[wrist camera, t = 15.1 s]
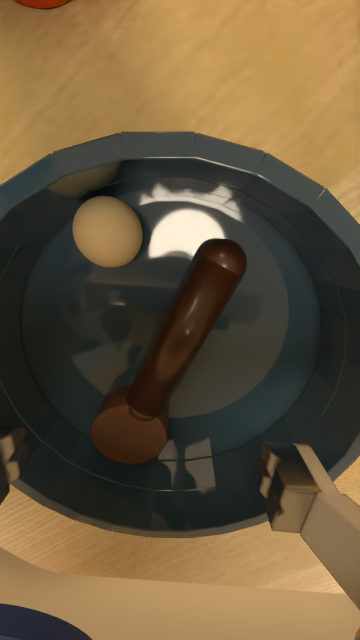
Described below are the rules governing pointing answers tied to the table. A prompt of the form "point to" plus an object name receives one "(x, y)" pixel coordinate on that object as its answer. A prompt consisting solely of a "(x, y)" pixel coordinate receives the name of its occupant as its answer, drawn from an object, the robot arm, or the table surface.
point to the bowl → (149, 315)
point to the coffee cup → (42, 3)
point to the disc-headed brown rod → (168, 358)
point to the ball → (107, 231)
